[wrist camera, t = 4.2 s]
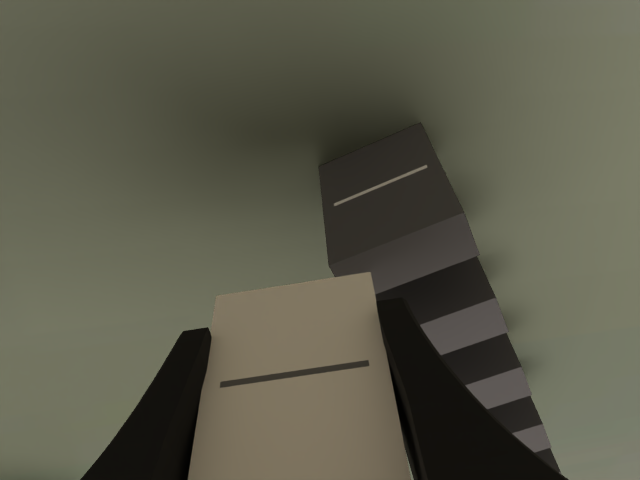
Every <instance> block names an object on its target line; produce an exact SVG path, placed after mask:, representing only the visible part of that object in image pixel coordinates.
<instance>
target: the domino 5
mask: <svg viewBox="0 0 640 480" xmlns="http://www.w3.org/2000/svg"><path fill="white" fill-rule="evenodd" d="M487 410H488V411H489V412H490V413H491V414H492V415H493V416H494V417H495V418H496V419H497V420H498V421H499V422H500V423H502V424H503V425H504V426H505V427H506V428H507V429H508V430H509V431H510V432H511V433H512V434H513V435H514V436H515V437H517V438H518V439H519V440H520V441H521V442H522V443H524V444H525V445H526V446H527V447H528V448H530V449H531V450H532V451H533V452H534V453H535V452H538V451H541V450H545V449H548V448H551V445H550V442H549V439H548V437H547V434H546V431H545V429H544V426H543V423H542V421H541V419H540V417H539V414H538V412H537V410H536V408H535V405H534V403H533V401H532V399H531V396H527V397H524V398H521V399H518V400H515V401H512V402H508V403H505V404H502V405H499V406H496V407H493V408H490V409H487Z"/></svg>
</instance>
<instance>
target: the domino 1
mask: <svg viewBox="0 0 640 480" xmlns="http://www.w3.org/2000/svg"><path fill="white" fill-rule="evenodd" d="M210 334H211V336H212V340H211V346H210V353H209V360H208V366H207V372H206V375H205V379H204V383H203V387H202V391H201V397H200V403H199V410H198V416H197V423H196V429H195V436H194V442H193V449H192V455H191V461H190V468H189V474H188V480H411V477H410V472H409V467H408V462H407V456H406V451H405V446H404V441H403V436H402V431H401V426H400V420H399V415H398V410H397V405H396V400H395V395H394V390H393V384H392V379H391V374H390V369H389V364H388V359H387V354H386V349H385V346H384V343H383V338H382V333H381V328H380V322H379V317H378V312H377V305H376V297H375V292H374V287H373V281H372V276H371V272H366V273H359V274H353V275H347V276H340V277H334V278H327V279H321V280H314V281H308V282H302V283H295V284H289V285H282V286H276V287H269V288H263V289H257V290H250V291H244V292H237V293H231V294H224V295H218V296H216V300H215V307H214V313H213V320H212V326H211V333H210Z"/></svg>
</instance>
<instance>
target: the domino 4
mask: <svg viewBox="0 0 640 480" xmlns="http://www.w3.org/2000/svg"><path fill="white" fill-rule="evenodd" d="M441 356H442V358H443V359H444V360H445V362H446V363H447V364H448V365H449V367H450V368H451V369H452V370H453V372H454V373H455V374H456V375H457V377H458V378H459V379H460V380H461V381H462V382H463V384H464V385H465V386H466V387H467V388H468V389H469V390H470V392H471V393H472V394H473V395H474V396H475V397H476V398H477V399H478V400H479V401H480V402H481V404H482V405H483V406H484V407H485V408H486V409H490V408H493V407H496V406H499V405H502V404H505V403H508V402H512V401H515V400H518V399H521V398H524V397H527V396H530V395H532V394H531V391H530V388H529V386H528V383H527V380H526V377H525V375H524V372H523V369H522V367H521V364H520V362H519V360H518V358H517V356H516V353H515V351H514V349H513V347H512V345H511V342H510V340H509V338H508V336H507V333H504V334H501V335H498V336H495V337H492V338H490V339H487V340H484V341H481V342H478V343H475V344H472V345H469V346H466V347H464V348H461V349H458V350H455V351H452V352H449V353H446V354H443V355H441Z"/></svg>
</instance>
